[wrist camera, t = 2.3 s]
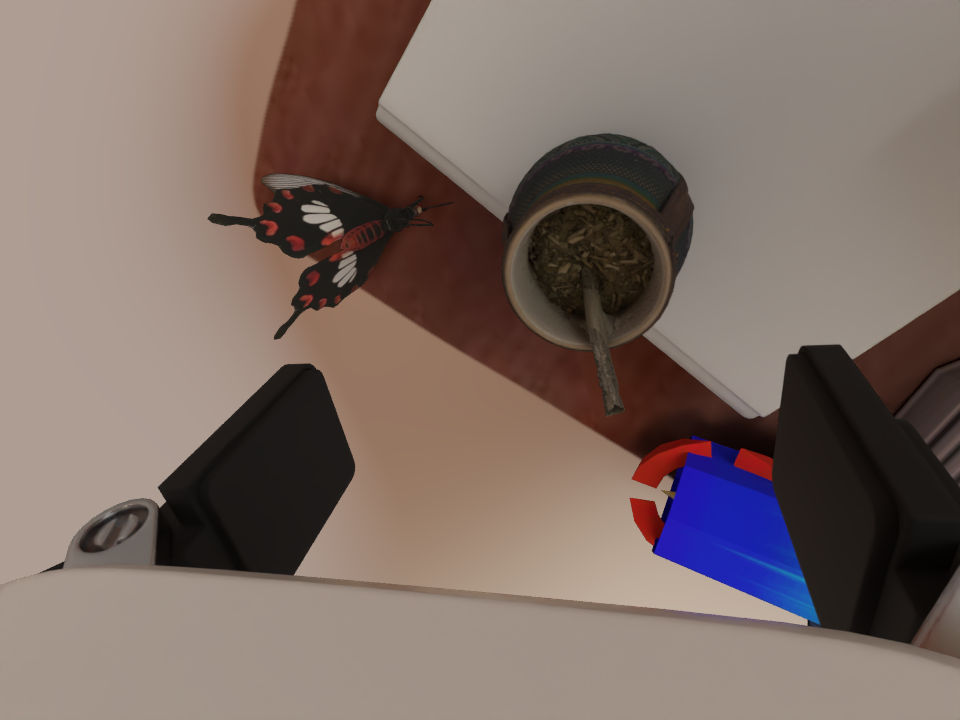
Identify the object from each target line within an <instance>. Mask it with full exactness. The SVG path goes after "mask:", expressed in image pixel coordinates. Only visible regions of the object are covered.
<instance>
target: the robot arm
mask: <svg viewBox="0 0 960 720" xmlns="http://www.w3.org/2000/svg"><path fill="white" fill-rule="evenodd" d="M354 472H355V463H354V459H353V456H352V454H351V451H350V448H349V446H348V442H347V440H346V437H345V434H344V431H343V429H342V426H341V423H340V421H339V418H338V415H337V412H336V409H335V406H334V404H333V401H332V398H331V395H330V393H329V390H328V387H327V384H326V382H325V379H324V376H323V374H322V372H320V370H316V368H315V367H314V366H313V365H311V364H287V365H284V366H283V367H281V368H280V369H279V370H278V371H277V372H276V373H275V374H274V375H273V376H272V377H271V378H270V379H269V380H268V381H267V382H266V383H265V384H264V385H263V386H262V387H261V388H260V389H259V390H258V391H257V392H256V393H254V395H252V396H251V397H250V398H249V399H248V400H247V401H246V402H245V403H244V404H243V405H242V406H241V407H240V408H239V409H238V410H237V411H236V412H235V413H234V414H233V415H232V416H231V417H230V418H229V419H228V420H227V421H226V422H225V423H224V424H222V425H221V426H220V427H219V429H217V430H216V431H215V432H214V433H213V434H212V435H211V436H210V437H209V438H208V439H207V440H206V441H205V442H204V443H203V444H202V445H201V446H200V447H199V448H198V449H197V450H196V451H195V452H194V453H193V454H192V455H191V456H189V457H188V458H187V459H186V460H185V461H184V462H183V463H182V465H180V466H179V467H178V468H177V469H176V470H175V471H174V472H173V473H172V474H171V475H170V476H169V477H168V478H167V479H166V480H165V481H164V482H163V483H162V484H161V485H160V486H159V487H158V489H159V490H160V492H161V493H162V495H163V497H164V498H165V500H166V503H164V504H163V505H162V507H161V508H159V506H158V505H157V503H155V502H154V501H153V500H151V499H144V498H141V499H134V500H129V501H126V502H123V503H120V504H117V505H115V506H113V507H111V508H109V509H107V510H105V511H103V512H102V513H100V514H99V515H97V516H96V517H94V518H92V519H91V520H90V521H89V522H88V523H87V524H85V525H84V526H83V527H82V528H81V529H80V530H79V531H78V532H77V534H76V535H75V536H74V537H73V539H72V541H71V543H70V545H69V548H68V551H67V555H66V559H65V561H64V562H62V563H60V564H58V565H56V566H53V567H51V568H49V569H47V570H45V571H43V572H40V573H38V574H35V575H31V576H28V577H24V578H20V579H16V580H14V581H11V582H8V583H5V584H2V585H0V720H960V487H959V486H958V484H957V483H956V482H955V480H954V479H953V478H952V476H951V475H950V474H949V472H948V471H947V470H946V468H945V467H944V466H943V465H942V463H941V462H940V461H939V459H938V458H937V457H936V455H935V454H934V453H933V451H932V450H931V449H930V448H929V446H928V445H927V444H926V442H925V441H924V440H923V438H922V437H921V436H920V434H919V433H918V432H917V430H916V429H915V428H914V427H913V426H912V425H911V424H910V423H909V422H908V421H907V420H904V419H901V418H897V419H895V418H894V416H893V415H892V414H891V412H890V411H889V410H888V408H887V407H886V406H885V404H884V403H883V401H882V400H881V399H880V397H879V396H878V395H877V393H876V392H875V390H874V389H873V388H872V386H871V385H870V384H869V382H868V381H867V380H866V378H865V377H864V375H863V374H862V373H861V371H860V370H859V369H858V367H857V366H856V364H855V363H854V362H853V360H852V359H851V358H850V356H849V355H848V353H847V352H846V351H845V349H844V348H843V347H842V346H841V345H840V344H832V345H804V346H801V347H800V349H799V351H798V354H789V355H788V356H787V359H786V364H785V372H784V380H783V388H782V396H781V403H780V411H779V419H778V427H777V435H776V443H775V450H774V458H773V466H772V483H773V489H774V492H775V495H776V498H777V501H778V504H779V507H780V510H781V512H782V515H783V518H784V521H785V524H786V527H787V530H788V533H789V536H790V539H791V541H792V544H793V547H794V550H795V553H796V556H797V559H798V562H799V565H800V568H801V570H802V573H803V576H804V579H805V582H806V585H807V588H808V591H809V594H810V597H811V599H812V602H813V605H814V608H815V611H816V614H817V617H818V620H819V623H820V626H821V628H818V627H811V626H804V625H798V624H791V623H784V622H774V621H766V620H757V619H748V618H738V617H729V616H721V615H711V614H703V613H693V612H685V611H676V610H666V609H655V608H646V607H645V608H644V607H635V606H625V605H614V604H604V603H603V604H602V603H592V602H583V601H572V600H562V599H551V598H541V597H530V596H519V595H508V594H498V593H486V592H476V591H464V590H454V589H443V588H431V587H420V586H409V585H398V584H386V583H374V582H363V581H352V580H340V579H329V578H317V577H304V576H293V575H294V574H295V572H296V570H297V569H298V567H299V566H300V564H301V562H302V561H303V559H304V557H305V555H306V554H307V552H308V551H309V549H310V547H311V546H312V544H313V543H314V541H315V539H316V537H317V536H318V534H319V533H320V531H321V529H322V528H323V526H324V524H325V523H326V521H327V519H328V518H329V516H330V515H331V513H332V511H333V510H334V508H335V506H336V505H337V503H338V501H339V500H340V498H341V496H342V495H343V493H344V492H345V490H346V488H347V487H348V485H349V483H350V482H351V480H352V478H353V476H354Z"/></svg>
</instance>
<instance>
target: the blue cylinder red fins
mask: <svg viewBox="0 0 960 720" xmlns="http://www.w3.org/2000/svg"><path fill="white" fill-rule="evenodd" d="M772 466H773V459H772V458H770V457H768V456H765V455H762V454H759V453H756V452H753V451H750V450H747V449H744V448H741V450H740V451H737V450H734V449H732V448H729V447H726V446H723V445H720V444H717V443H714V442H711V441H708V440H705V439H702V438H699V437H696V436H693V435H692V437H691V438H690V439H680V440H676V441H672V442H669V443H665V444H661V445H659V446H658V447H657V448H655V449H654V450H653V451H652V452H650V453H649V454H648V455H647V456H645V457H644V458H643V459H642V461H641V462H640V464H639V466H638V468H637V470H636V472H635V474H634V476H633V477H632V479H633V480H635V481H638V482H641V483H643V484H646V485H648V486H651V487H654V488H657V486H658V485H659V483H660V482H661V480H662V479H663V477H664V476H666V475H667V474H669V473H670V472H672V471H673V470H675V469H676V468H678V470H677V472H676V475H675V478H674V481H673V484H672V487H671V490H670V491H663V492H664V493H665V494H667V495H668V499H667V502H666V505H665V508H664V511H663V514H662V517H661V518H660V517H659V515H658V512H657V508H656V505H655V502H654V501H647V500H642V499H635V498H630V501H631V507H632V512H633V517H634V521H635V523H636V524H637V526H638V527H639V529H640V531H641V532H642V534H643V536H644V537H645V539H646V540H647V541H648V542H649V543H651V544H652V545H653V549H652V552H653V553H654V554H656V555H658V556H660V557H663V558H665V559H668V560H670V561H672V562H675V563H677V564H679V565H681V566H684V567H686V568H688V569H691V570H693V571H695V572H698V573H700V574H703V575H705V576H707V577H709V578H712V579H714V580H717V581H719V582H721V583H724V584H726V585H728V586H731V587H733V588H735V589H738V590H740V591H742V592H745V593H747V594H749V595H752V596H754V597H756V598H759V599H761V600H763V601H766V602H768V603H770V604H773V605H775V606H777V607H780V608H782V609H784V610H787V611H789V612H791V613H794V614H796V615H798V616H801V617H803V618H805V619H808V626H811V627H818V628H821V626H820V623H819V620H818V617H817V614H816V611H815V608H814V605H813V602H812V599H811V597H810V594H809V591H808V588H807V585H806V582H805V579H804V576H803V573H802V570H801V568H800V565H799V562H798V559H797V556H796V553H795V550H794V547H793V544H792V541H791V539H790V536H789V533H788V530H787V527H786V524H785V521H784V518H783V515H782V512H781V510H780V507H779V504H778V501H777V498H776V495H775V492H774V489H773V483H772Z"/></svg>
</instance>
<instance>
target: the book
mask: <svg viewBox="0 0 960 720" xmlns="http://www.w3.org/2000/svg"><path fill="white" fill-rule="evenodd" d="M376 118H377V120H378V121H379V122H380V123H382V124H383V125H384V126H385V127H386V128H388V129H389V130H390V131H391V132H393V133H394V134H395V135H396V136H398V137H399V138H400V139H401V140H403V141H404V142H405V143H406V144H407V145H409V146H410V147H411V148H412V149H414V150H415V151H416V152H417V153H419V154H420V155H421V156H422V157H423V158H425V159H426V160H427V161H428V162H430V163H431V164H432V165H433V166H435V167H436V168H437V169H438V170H440V171H441V172H442V173H443V174H444V175H446V176H447V177H448V178H449V179H451V180H452V181H453V182H454V183H456V184H457V185H458V186H459V187H460V188H462V189H463V190H464V191H465V192H467V193H468V194H469V195H470V196H472V197H473V198H474V199H475V200H476V201H478V202H479V203H480V204H481V205H483V206H484V207H485V208H486V209H488V210H489V211H490V212H491V213H493V214H494V215H495V216H496V217H497V218H499V219H500V220H501V221H502V222H503V219H504V216H505V215H506V213H507V212H508V211H509V206H510V203H511V201H512V198H513V195H514V193H515V191H516V189H517V187H518V184H519V183H520V182H521V181H522V179H523V177H524V176H525V174H526V173H527V172H528V171H529V170H530V169H531V168H532V166H533V165H534V163H536V162H537V161H538V160H539V159H540V158H541V157H543V155H545V154H546V153H547V152H549V151H551V150H552V149H553V148H556V147H557V146H559V145H561V144H563V143H565V142H567V141H570V140H572V139H575V138H577V137H580V136H586V135H597V134H604V133H606V134H607V133H611V134H619V135H624V136H627V137H632V138H634V139H637V140H639V141H641V142H643V143H646V144H647V145H648V146H650V145H651V146H652V147H654V148H655V149H656V150H657V151H658V152H659V153H661V154H662V155H663V156H664V157H665V159H666V160H668V161H669V162H670V163H671V164H672V165H673V166H674V168H675V169H676V170H677V171H678V172H680V173H681V174H682V175H683V177H684V179H685V181H686V183H687V186H688V194H689V196H690V197H691V200H692V202H693V204H694V207H695V208H694V211H693V222H694V224H693V235H692V240H691V245H690V249H689V251H688V253H687V257H686V259H685V262H684V264H683V266H682V268H681V270H680V272H679V274H678V275H677V277H676V280H675V284H674V285H675V286H674V289H673V290H674V292H673V293H672V296H671V298H670V301H669V303H668V306H667V308H666V309H665V311H664V313H663V314H662V316H661V318H660V319H659V320H658V321H657V322H656V323H655V324H654V326H653V327H651V328H650V329H649V331H647V332H646V333H644V334H643V336H644V337H645V338H647V339H648V340H649V341H650V342H652V343H653V344H654V345H655V346H657V347H658V348H659V349H660V350H661V351H663V352H664V353H665V354H666V355H668V356H669V357H670V358H671V359H673V360H674V361H675V362H676V363H678V364H679V365H680V366H681V367H682V368H684V369H685V370H686V371H687V372H689V373H690V374H691V375H692V376H694V377H695V378H696V379H697V380H698V381H700V382H701V383H702V384H703V385H705V386H706V387H707V388H708V389H710V390H711V391H712V392H713V393H714V394H716V395H717V396H718V397H719V398H721V399H722V400H723V401H724V402H726V403H727V404H728V405H729V406H731V407H732V408H733V409H734V410H735V411H737V412H738V413H739V414H740V415H742V416H743V417H746V418H755V417H757V416H761V417H765V416H767V415H769V414H770V413H772V412H773V411H775V410H777V409H778V408H780V403H781V396H782V388H783V380H784V372H785V364H786V359H787V356H788V355H789V354H798V351H799V349H800V347H801V346H804V345H832V344H840V345H841V346H842V347H843V348H844V349H845V351H846V352H847V353H848V355H849V356H850V358H851V359H852V360H853V359H854V358H856V357H857V356H859V355H861V354H862V353H864V352H865V351H867V350H868V349H870V348H871V347H873V346H874V345H876V344H877V343H879V342H880V341H882V340H883V339H885V338H886V337H888V336H890V335H891V334H893V333H894V332H896V331H897V330H899V329H900V328H902V327H903V326H905V325H906V324H908V323H909V322H911V321H912V320H914V319H915V318H917V317H919V316H920V315H922V314H923V313H925V312H926V311H928V310H929V309H931V308H932V307H934V306H935V305H937V304H938V303H940V302H941V301H943V300H944V299H946V298H948V297H949V296H951V295H952V294H954V293H955V292H957V291H958V290H960V0H432V1H431V3H430V5H429V6H428V8H427V10H426V12H425V14H424V16H423V18H422V20H421V22H420V24H419V25H418V27H417V29H416V31H415V33H414V35H413V37H412V39H411V41H410V42H409V44H408V46H407V48H406V50H405V52H404V54H403V56H402V58H401V59H400V61H399V63H398V65H397V67H396V69H395V71H394V73H393V75H392V76H391V78H390V80H389V82H388V84H387V86H386V88H385V90H384V92H383V94H382V96H381V98H380V100H379V107H378V109H377V112H376Z"/></svg>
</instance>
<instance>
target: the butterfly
mask: <svg viewBox="0 0 960 720" xmlns="http://www.w3.org/2000/svg"><path fill="white" fill-rule="evenodd" d="M261 182H262V183H263V184H264V185H265V186H266V187H268V188H269V189H270V190H271V191H273V192H274V193H275V196H274V198H273V201H271V202H268V203H265V204H264V207H263V211H264V215H262V216H260V217H257V218H254V219H250V218H243V217H235V216H226V215H222V214H211V215H210V216H209V217H208V220H210V221H211V222H212V223H216V224H220V225H224V226H228V225H234V224H238V225H245V226H249V227H251V228H252V229H253V230H254V231H255V232H256V238H257V239H259V240H260V241H262V242H265V243H272V244H275V245H277V246H279V248H280V249H281V250H282V251H283V253H285V254H287V255H289V256H290V257H293V258H304V257H305V256H306V255H308V254H311V253H313V252H315V251H317V250H320V249H322V248H324V247H326V246H328V245H330V244H331V243H333V242H335V241H337V240H338V239H341V238H343V240H342V243H341V248H342V249H344V250H343V251H341V252H339V253H337V254H334V255H332V256H330V257H328V258H326V259H324V260H322V261H320V262H319V263H317V264H315V265H313V266H311V267H308V268H307V269H305V270H304V271H303V273H302V274H301V276H300V279H299V287H300V288H299V291H298V293H297V294H296V295H295V296H294V298H293V300H292V303H291V305H292V306H294V308H295V311H294V314H293V315H292V316H291V318H290V319H289V320H288V321H287V322H286V323H285V324H283V325H282V326H281V327H280V328H279V330H278V331H277V333H276V334H275V336H274V339H280V338H281V337H282V336H283V335H284V334H285V332H286V331H287V329H288V328H289V327H290V326H291V325H292V323H293V322H294V321H295V319H296V318H297V317H298V316H299V315H300V314H301V313H302V312H303V311H305V310H306V309H309V308H312V309H314V310H319V309H321V308H323V307H332V308H334V307H335V306H337V305H338V304H339V303H340V302H341V301H342V300H343V299H344V298H345V297H347V296H348V295H349V294H351V293H352V292H354V291H355V290H357V289H358V288H359V287H361V286H362V285H363V284H364V283H365V281H366V280H367V279H368V277H369V276H370V274H371V273H372V271H373V269H374V267H375V265H376V263H377V262H378V260H379V258H380V256H381V254H382V252H383V250H384V248H385V245H386V244H387V242H388V241H389V239H390V238H391V237H392V235H393V234H394V232H399V231H401V230H403V229H404V228H405V227H408V226H407V225H412V226H416V225H417V226H434V225H433V224H431V223H432V222H429V221H425V220H420V219H413V218H414V217H415V216H419V215H420V214H421V212H423V211H426V210H427V209H428V208H433V207H438V206H442V205H447V204H451V203H453V202H450V203H445V204H441V205H437V206H432V207H427V208H422V209H421V207H419V206H416V205H417V204H418V203H419V202H421V201H422V200H423V198H424V197H422V196H418V197H421V198H420V199H419V200H417V201H415V202H413V203H412V204H410V205H409V206H407V207H405V208H393V209H390V208H389V207H388V206H386V205H384V204H382V203H380V202H378V201H375V200H373V199H371V198H368V197H366V196H363V195H361V194H359V193H356V192H354V191H351V190H349V189H346V188H344V187H341V186H339V185H336V184H333V183H330V182H327V181H323V180H319V179H315V178H310V177H305V176H300V175H292V174H280V173H274V174H269V175H266V176H264V177H262V178H261ZM410 206H411V207H410ZM408 207H409V208H408ZM410 220H418V221H425V222H427V223H430V224H408V223H409V221H410Z"/></svg>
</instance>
